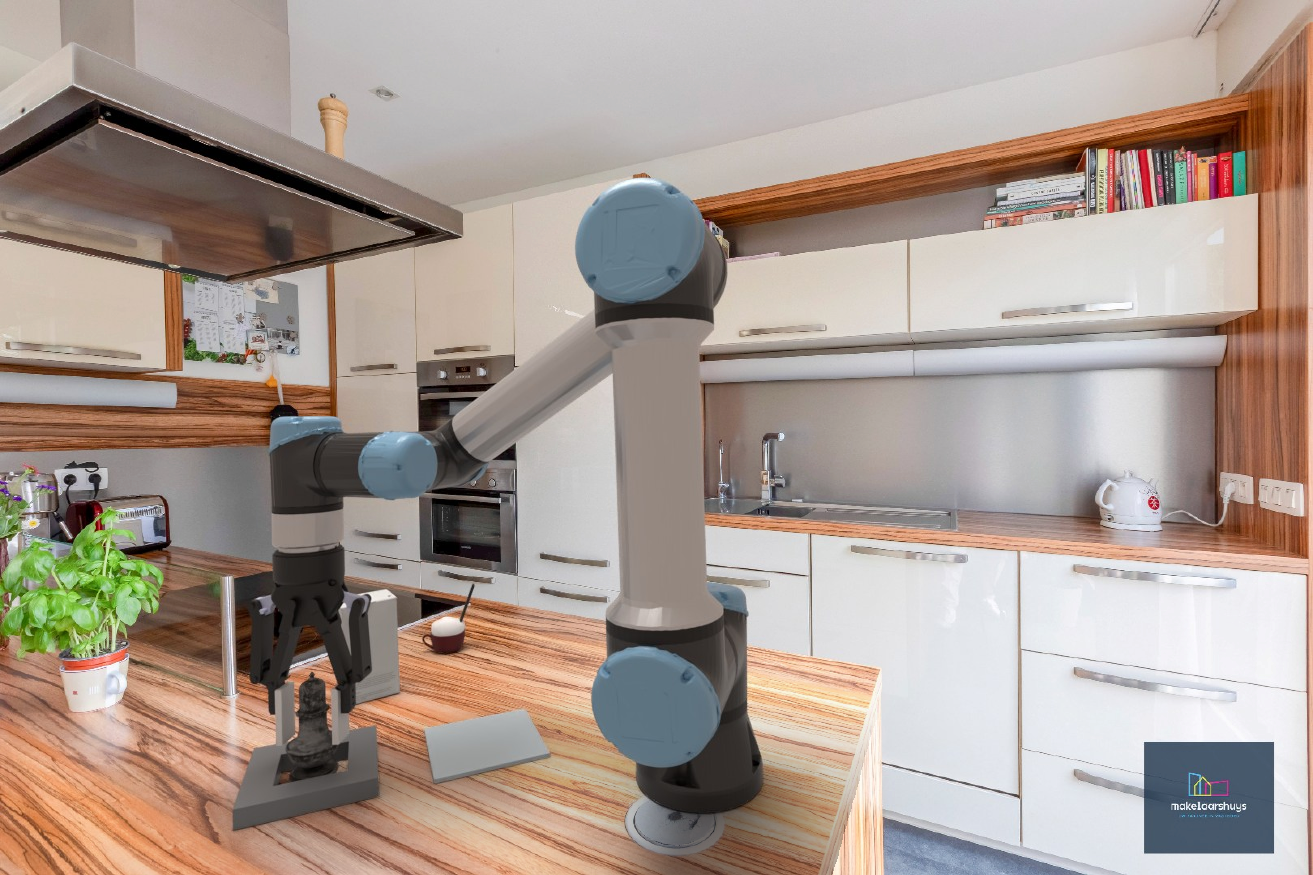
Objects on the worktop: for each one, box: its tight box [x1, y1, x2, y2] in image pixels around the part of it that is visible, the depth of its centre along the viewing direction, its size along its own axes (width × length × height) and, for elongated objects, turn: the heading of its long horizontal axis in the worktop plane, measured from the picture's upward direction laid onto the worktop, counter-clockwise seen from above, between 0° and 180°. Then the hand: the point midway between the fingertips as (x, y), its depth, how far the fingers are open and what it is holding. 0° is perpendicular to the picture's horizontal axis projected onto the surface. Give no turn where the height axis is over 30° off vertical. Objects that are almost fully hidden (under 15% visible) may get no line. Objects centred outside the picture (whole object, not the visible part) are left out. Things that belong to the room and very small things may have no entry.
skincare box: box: [338, 589, 401, 705], centre depth 100 cm, size 8×7×16 cm
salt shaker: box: [285, 671, 340, 782], centre depth 75 cm, size 6×6×12 cm
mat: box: [423, 708, 551, 785], centre depth 84 cm, size 14×14×1 cm
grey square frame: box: [231, 724, 380, 831], centre depth 76 cm, size 14×14×2 cm
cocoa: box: [421, 583, 475, 654], centre depth 119 cm, size 10×6×12 cm, turn 85°
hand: (313, 738), depth 75 cm, fingers closed on salt shaker, 6 cm apart
